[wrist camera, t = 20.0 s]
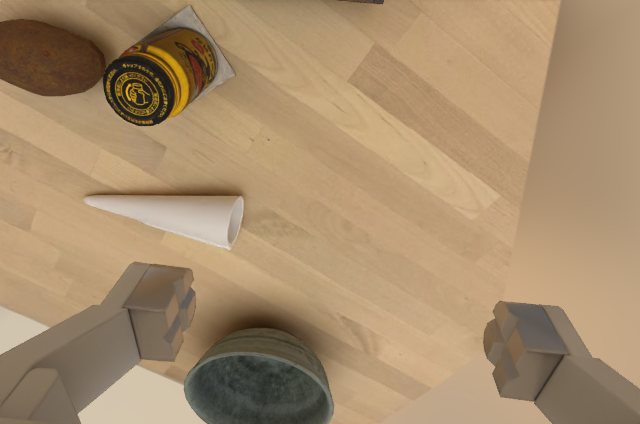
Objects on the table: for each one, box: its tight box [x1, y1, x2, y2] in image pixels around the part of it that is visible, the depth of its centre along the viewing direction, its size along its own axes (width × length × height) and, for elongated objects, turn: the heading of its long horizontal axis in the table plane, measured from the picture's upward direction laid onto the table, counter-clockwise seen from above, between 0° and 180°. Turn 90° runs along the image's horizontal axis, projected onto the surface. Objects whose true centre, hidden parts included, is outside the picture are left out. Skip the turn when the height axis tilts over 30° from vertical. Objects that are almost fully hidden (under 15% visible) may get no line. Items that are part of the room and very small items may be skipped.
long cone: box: [84, 195, 244, 250], centre depth 47 cm, size 6×6×19 cm
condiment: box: [103, 5, 236, 126], centre depth 35 cm, size 7×8×12 cm
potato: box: [0, 19, 106, 96], centre depth 37 cm, size 7×12×7 cm, turn 87°
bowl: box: [184, 328, 334, 424], centre depth 58 cm, size 21×21×10 cm
